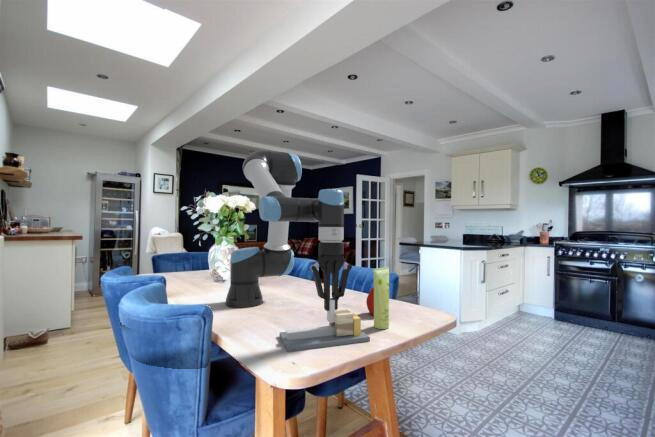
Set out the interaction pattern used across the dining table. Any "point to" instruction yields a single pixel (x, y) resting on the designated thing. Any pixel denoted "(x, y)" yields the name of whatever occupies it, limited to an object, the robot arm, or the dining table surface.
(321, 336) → the rail board
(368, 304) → the apple
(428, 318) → the dining table surface
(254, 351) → the dining table surface
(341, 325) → the beige wooden sliding block
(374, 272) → the tube
